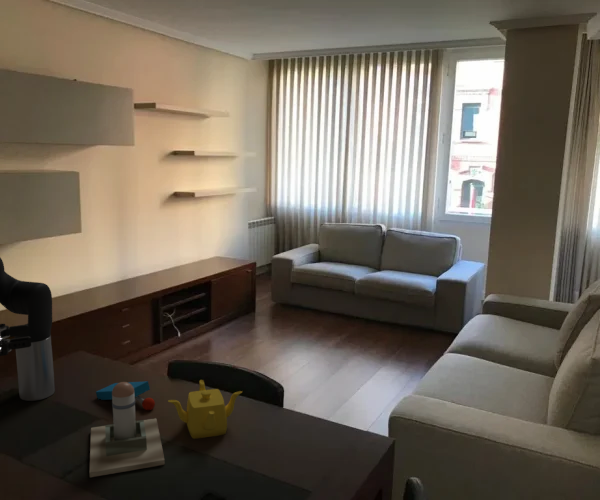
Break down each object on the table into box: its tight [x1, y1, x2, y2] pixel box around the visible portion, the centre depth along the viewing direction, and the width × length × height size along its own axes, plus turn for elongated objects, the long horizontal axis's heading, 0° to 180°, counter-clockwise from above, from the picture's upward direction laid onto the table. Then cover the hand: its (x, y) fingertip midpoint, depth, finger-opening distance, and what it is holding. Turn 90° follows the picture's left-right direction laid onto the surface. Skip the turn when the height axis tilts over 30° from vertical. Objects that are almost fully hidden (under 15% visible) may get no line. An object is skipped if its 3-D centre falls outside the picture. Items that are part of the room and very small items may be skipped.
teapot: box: [167, 379, 243, 440], centre depth 141 cm, size 15×14×10 cm
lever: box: [95, 380, 156, 411], centre depth 154 cm, size 7×7×18 cm
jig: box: [89, 417, 166, 478], centre depth 131 cm, size 20×16×4 cm
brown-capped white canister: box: [111, 381, 137, 441], centre depth 129 cm, size 5×5×16 cm
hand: (29, 335), depth 120 cm, fingers open, 8 cm apart
